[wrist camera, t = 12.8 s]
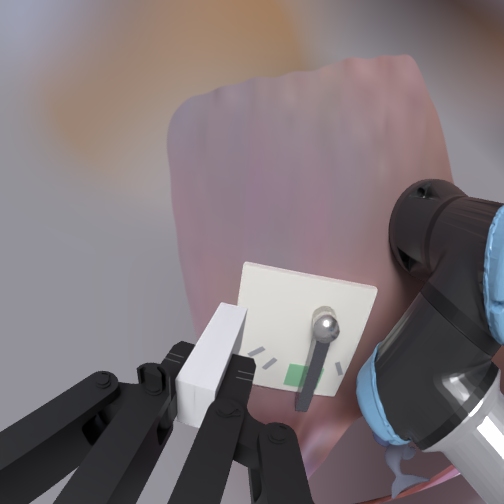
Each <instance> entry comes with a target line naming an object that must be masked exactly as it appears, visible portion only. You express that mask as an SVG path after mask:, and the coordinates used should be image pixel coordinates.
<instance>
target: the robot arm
mask: <svg viewBox="0 0 504 504" xmlns="http://www.w3.org/2000/svg"><path fill="white" fill-rule="evenodd" d="M389 238H390V244H391V248H392V251H393V254H394V256H395V258H396V260H397V261H398V263H399V264H400V265H401V266H402V267H403V268H404V269H405V270H406V271H407V272H408V273H409V274H410V275H412V276H413V277H415V278H417V279H419V280H422V281H427V282H426V283H425V285H424V286H423V288H422V289H421V290H420V292H419V293H418V295H417V296H416V298H415V299H414V301H413V302H412V303H411V305H410V306H409V308H408V309H407V310H406V312H405V313H404V314H403V316H402V317H401V318H400V320H399V321H398V322H397V324H396V325H395V326H394V327H393V329H392V330H391V331H390V333H389V334H388V335H387V336H386V338H385V339H384V340H383V341H381V342H380V343H379V344H378V345H377V346H376V347H375V349H374V352H373V354H372V355H371V356H370V357H369V359H368V360H367V361H366V362H365V364H364V365H363V366H362V367H361V369H360V371H359V373H358V376H357V381H356V385H357V389H356V395H357V400H358V404H359V407H360V410H361V412H362V414H363V416H364V418H365V420H366V422H367V423H368V425H369V426H370V428H371V429H372V430H373V431H374V433H375V434H376V435H378V436H379V437H380V438H381V439H382V440H384V441H387V440H388V441H389V443H390V444H393V445H402V444H407V443H409V442H411V441H413V442H414V443H415V444H416V445H417V446H418V447H419V449H420V450H421V451H422V452H434V451H440V452H443V454H444V455H445V456H446V457H447V458H448V459H449V460H450V462H451V463H452V464H453V465H454V466H455V467H456V469H457V470H458V471H459V472H460V473H461V474H462V475H463V476H464V478H465V479H466V480H467V481H468V482H469V483H470V484H471V486H472V487H473V488H474V489H475V490H476V492H477V493H478V494H479V495H480V496H481V498H482V499H483V500H484V501H485V502H486V503H487V504H504V395H502V393H501V392H500V389H499V384H500V370H499V368H498V367H497V366H496V365H495V364H494V363H493V362H492V361H491V359H492V358H493V356H494V355H495V353H496V352H497V351H498V350H499V348H500V347H501V345H504V203H499V202H494V201H489V200H484V199H479V198H473V197H469V196H467V195H466V194H465V193H464V192H463V191H462V190H460V189H459V188H458V187H457V186H455V185H454V184H452V183H450V182H448V181H445V180H439V179H425V180H421V181H418V182H416V183H414V184H413V185H411V186H410V187H409V188H407V189H406V190H405V191H404V192H403V193H402V195H401V196H400V197H399V199H398V201H397V202H396V204H395V206H394V209H393V212H392V215H391V219H390V225H389ZM247 309H248V308H244V307H240V306H235V305H231V304H226V303H222V302H221V304H220V305H219V307H218V309H217V310H216V312H215V314H214V315H213V317H212V319H211V320H210V322H209V324H208V325H207V327H206V329H205V330H204V332H203V334H202V335H201V337H200V339H199V341H198V342H197V344H196V345H194V344H190V343H187V342H184V341H181V342H179V343H177V344H176V345H174V346H173V347H172V349H171V350H170V351H169V353H168V354H167V356H166V357H165V359H164V360H163V361H162V363H161V364H157V363H145V364H142V365H140V366H139V367H138V368H137V373H138V380H139V384H129V383H122V382H118V379H117V377H116V376H115V375H114V374H112V373H110V372H107V371H98V372H95V373H93V374H92V375H90V376H88V377H87V378H85V379H84V380H82V381H81V382H79V383H77V384H76V385H74V386H73V387H71V388H70V389H68V390H67V391H65V392H63V393H62V394H60V395H59V396H57V397H56V398H54V399H53V400H51V401H49V402H48V403H46V404H45V405H43V406H41V407H40V408H38V409H37V410H35V411H34V412H32V413H30V414H29V415H27V416H25V417H24V418H22V419H21V420H19V421H18V422H16V423H14V424H13V425H11V426H9V427H8V428H6V429H4V430H3V431H1V432H0V504H29V503H30V502H32V501H33V500H34V499H36V498H37V497H39V496H40V495H42V494H43V493H44V492H46V491H47V490H48V489H50V488H51V487H52V486H54V485H55V484H56V483H58V482H59V481H60V480H62V479H63V478H64V477H66V476H67V475H68V474H69V473H71V472H72V471H73V470H75V469H76V468H77V467H78V466H79V467H78V468H77V470H76V471H75V473H74V474H73V476H72V477H71V479H70V480H69V481H68V483H67V484H66V485H65V487H64V488H63V490H62V491H61V493H60V494H59V496H58V497H57V498H56V500H55V501H54V503H53V504H136V502H137V500H138V498H139V496H140V494H141V492H142V490H143V488H144V486H145V484H146V482H147V481H148V479H149V476H150V475H151V472H152V471H153V469H154V467H155V465H156V463H157V461H158V459H159V456H160V454H161V453H162V451H163V449H164V447H165V445H166V443H167V441H168V439H169V437H170V435H171V433H172V431H173V421H174V419H175V417H176V415H177V421H179V422H181V423H184V424H187V425H191V426H194V427H197V428H199V431H198V433H197V436H196V438H195V440H194V443H193V445H192V448H191V450H190V453H189V455H188V457H187V460H186V462H185V464H184V466H183V469H182V471H181V474H180V476H179V478H178V480H177V483H176V485H175V487H174V490H173V492H172V494H171V497H170V499H169V501H168V503H167V504H220V502H221V499H222V495H223V492H224V489H225V485H226V482H227V478H228V475H229V471H230V468H231V464H232V461H233V460H234V461H236V462H238V463H240V464H242V465H244V466H246V467H248V474H249V485H250V494H251V504H313V501H312V497H311V493H310V489H309V484H308V480H307V476H306V472H305V468H304V464H303V460H302V456H301V452H300V448H299V444H298V440H297V436H296V434H295V432H294V430H293V429H292V428H291V427H289V426H288V425H285V424H283V423H277V422H274V423H269V424H267V425H265V424H263V423H261V422H259V421H257V420H255V419H254V418H253V417H252V416H251V415H250V414H249V412H248V410H247V404H248V400H249V395H250V391H251V387H252V383H253V379H254V374H255V370H256V364H255V361H254V358H250V357H245V356H241V355H238V354H239V351H240V349H241V344H242V338H243V332H244V327H245V321H246V315H247Z"/></svg>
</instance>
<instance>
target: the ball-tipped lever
mask: <svg viewBox="0 0 504 504" xmlns="http://www.w3.org/2000/svg"><path fill="white" fill-rule="evenodd" d="M312 323H313V337H312V341H311V345H310V348H309V352H308V356H307V359H306V363H305V367H304V370H303V373H302V377H301V380H300V384H299V387H298V390H297V393H296V405H295V411H304V412H307V410H308V407H309V405H310V402H311V399H312V397H313V394H314V391H315V388H316V385H317V383H318V380H319V377H320V374H321V371H322V368H323V365H324V362H325V359H326V356H327V352H328V349H329V346H330V342H332V341H334V340H335V339H336V338H337V337H338V336H339V333H340V329H339V325H338V321H337V317H336V313H335V311H334V309H333V308H331V307H329V306H321V307H319V308H317V309H316V310H315V311H314V312H313V314H312Z"/></svg>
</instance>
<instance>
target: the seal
mask: <svg viewBox="0 0 504 504" xmlns="http://www.w3.org/2000/svg"><path fill="white" fill-rule="evenodd" d="M373 436H374V438H375V440H376V441H377V442H378V443H379V444H380V445H382V446H384V447H386V448H387V449H386V451H385V461H386V463H387V465H388V466H389V467H390V468H391V470H392V471H393V472H394V474H395V475H396V479H395V480H394V482H393V484H392V499H393V498H395V497H396V496H397V495H398V494H399V493H400V492H401V491H402V490H403V489H405V488H406V487H408V486H411V485H413V484H415V483H419V482H426V481H430V479H429V478H424V477H420V476H416V475H411V474H403V473H402V472H401V470H400V461H401V458H403V459H404V460H409V459H411V458H413V457H414V455H415V451H416V450H415V448H414V447H409V446H408V443H407V444H402V445H393V444H390V443H389V441H388V440H387V441H384V440H382V439H381V438H380V437H379V436H378V435H376V434H375V433H374V431H373Z"/></svg>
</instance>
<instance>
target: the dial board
mask: <svg viewBox="0 0 504 504" xmlns="http://www.w3.org/2000/svg"><path fill="white" fill-rule="evenodd" d="M377 291H378V290H377V288H376V287H375V286H371V285H365V284H360V283H354V282H349V281H344V280H338V279H333V278H328V277H323V276H317V275H312V274H307V273H302V272H297V271H291V270H286V269H281V268H276V267H271V266H266V265H261V264H256V263H251V262H246V261H245V263H244V265H243V272H242V278H241V285H240V292H239V298H238V305H237V306H240V307H244V308H248V309H247V315H246V321H245V327H244V332H243V338H242V344H241V349H240V351H239V354H238V355H241V356H245V357H250V358H254V361H255V364H256V370H255V374H254V379H253V383H252V384H256V385H261V386H266V387H271V388H277V389H282V390H288V391H295V392H297V390H298V387H299V384H300V380H301V377H302V373H303V370H304V367H305V363H306V359H307V356H308V352H309V348H310V345H311V341H312V337H313V323H312V314H313V312H314V311H315V310H316V309H317V308H319V307H321V306H329V307H331V308H333V309H334V311H335V313H336V317H337V321H338V325H339V329H340V333H339V336H338V337H337V338H336V339H335V340H334V341H332V342H330V346H329V349H328V352H327V356H326V359H325V362H324V365H323V368H322V371H321V374H320V377H319V380H318V383H317V385H316V388H315V391H314V394H316V395H325V396H335V394H336V392H337V390H338V388H339V386H340V384H341V382H342V379H343V377H344V375H345V373H346V371H347V369H348V366H349V364H350V362H351V360H352V357H353V355H354V353H355V350H356V348H357V345H358V343H359V340H360V338H361V335H362V333H363V330H364V328H365V325H366V322H367V320H368V317H369V314H370V312H371V309H372V306H373V303H374V300H375V297H376V294H377Z"/></svg>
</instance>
